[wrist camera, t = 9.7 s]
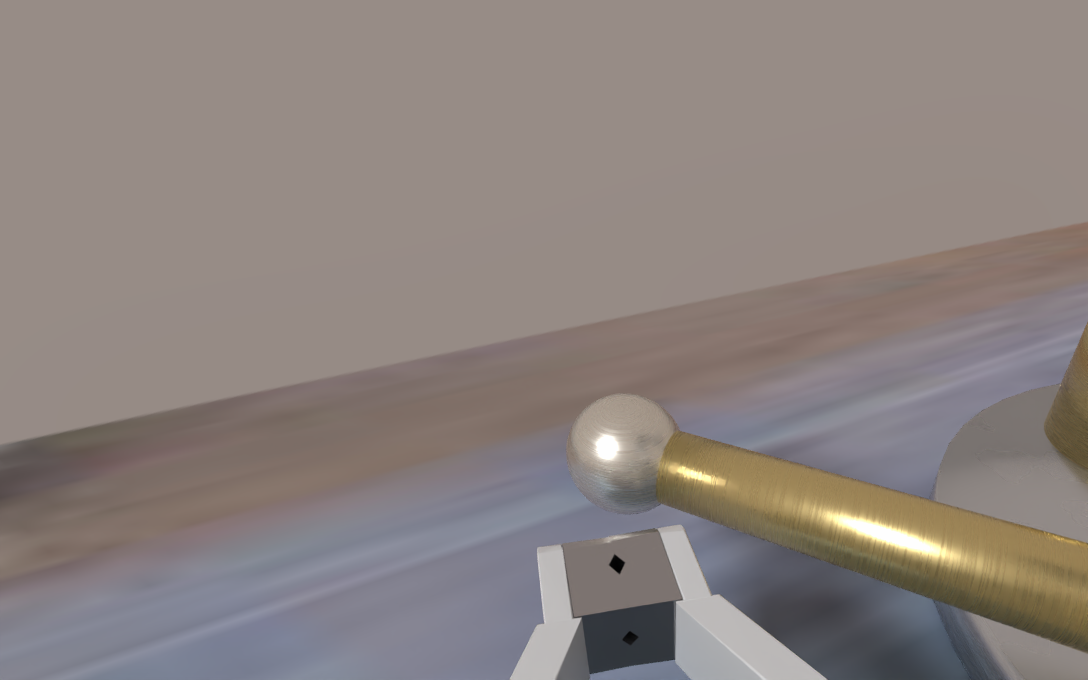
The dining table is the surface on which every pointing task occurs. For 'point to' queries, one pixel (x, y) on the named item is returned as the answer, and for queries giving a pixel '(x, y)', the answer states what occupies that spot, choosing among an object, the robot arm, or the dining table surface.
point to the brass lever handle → (834, 519)
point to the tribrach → (1021, 508)
